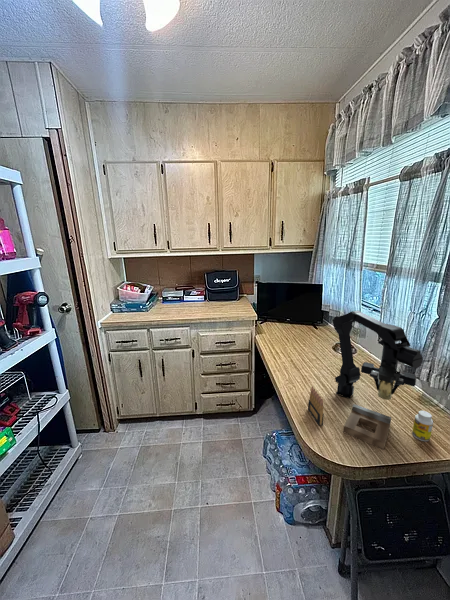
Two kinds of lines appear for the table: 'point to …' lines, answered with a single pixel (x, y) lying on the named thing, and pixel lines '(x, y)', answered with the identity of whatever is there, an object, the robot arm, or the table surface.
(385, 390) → the cylinder
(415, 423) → the supplement bottle
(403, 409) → the table surface
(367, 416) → the jig
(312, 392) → the tan upright panel
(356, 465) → the table surface
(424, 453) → the table surface
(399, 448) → the table surface
